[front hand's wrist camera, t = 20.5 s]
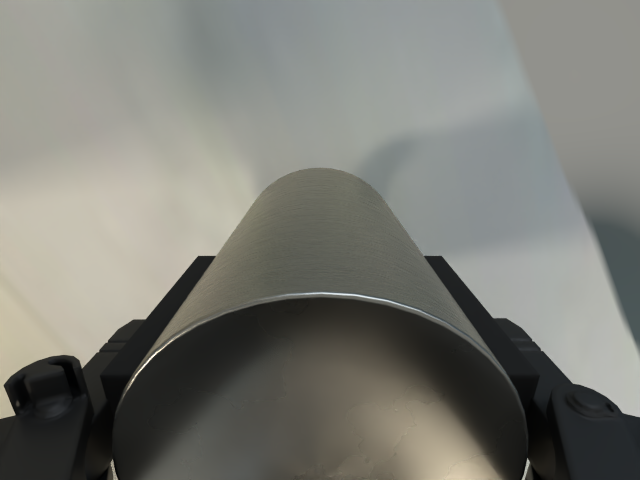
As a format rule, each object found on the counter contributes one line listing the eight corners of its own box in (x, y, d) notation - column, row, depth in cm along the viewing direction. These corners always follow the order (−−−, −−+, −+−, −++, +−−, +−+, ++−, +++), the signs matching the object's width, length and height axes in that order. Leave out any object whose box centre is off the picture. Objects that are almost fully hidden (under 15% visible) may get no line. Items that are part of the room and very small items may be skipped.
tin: (218, 269, 19) (57, 523, 7) (289, 135, 16) (216, 199, 5) (344, 332, 20) (377, 627, 9) (427, 218, 18) (624, 418, 6)
